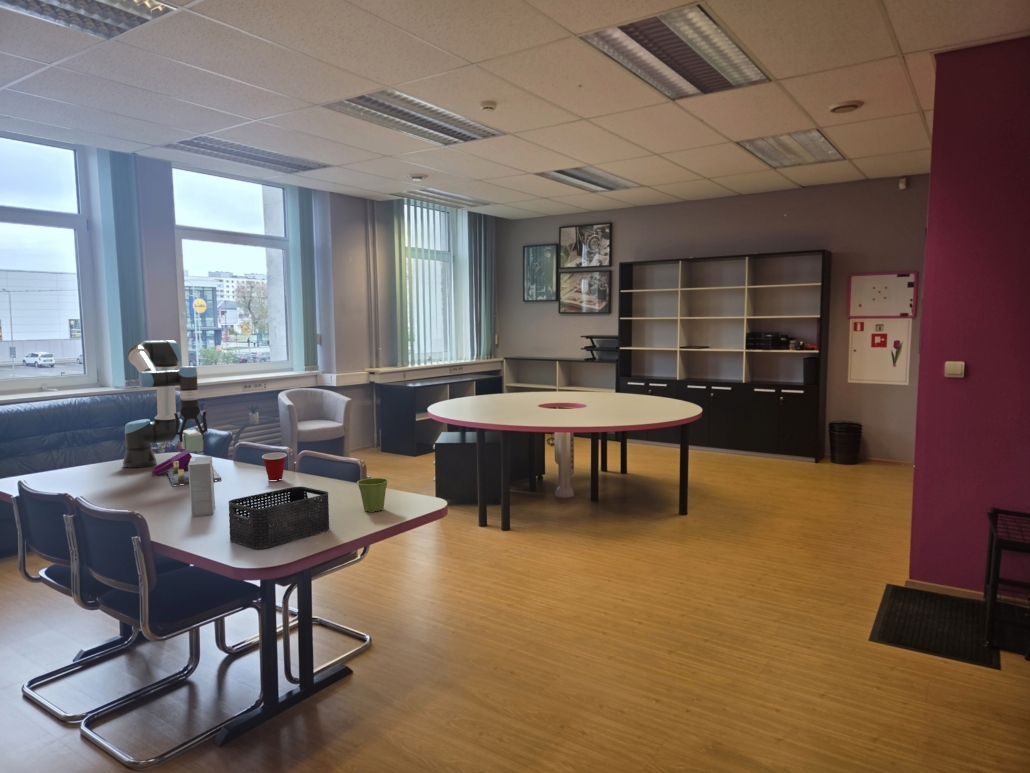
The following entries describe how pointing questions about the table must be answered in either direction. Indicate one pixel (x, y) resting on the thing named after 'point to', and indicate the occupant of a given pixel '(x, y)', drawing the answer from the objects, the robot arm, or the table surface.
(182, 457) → the mounting bracket
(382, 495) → the plant pot
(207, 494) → the hard drive box
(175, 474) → the chassis plate
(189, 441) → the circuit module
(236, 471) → the table surface
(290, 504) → the storage bin
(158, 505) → the table surface
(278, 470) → the plastic cup
